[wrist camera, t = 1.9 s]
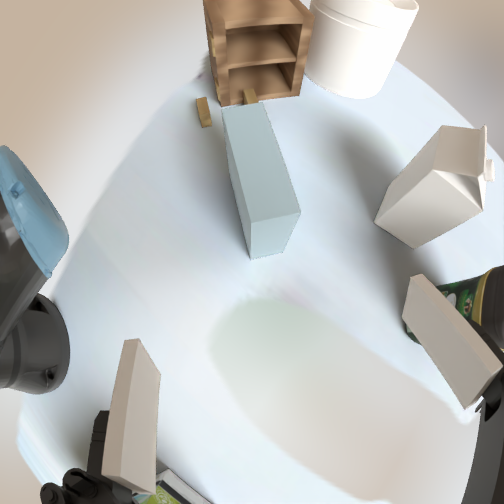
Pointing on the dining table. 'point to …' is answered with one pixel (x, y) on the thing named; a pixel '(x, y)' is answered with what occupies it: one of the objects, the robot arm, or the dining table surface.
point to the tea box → (170, 492)
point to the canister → (356, 43)
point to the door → (259, 180)
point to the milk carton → (438, 187)
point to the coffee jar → (478, 302)
